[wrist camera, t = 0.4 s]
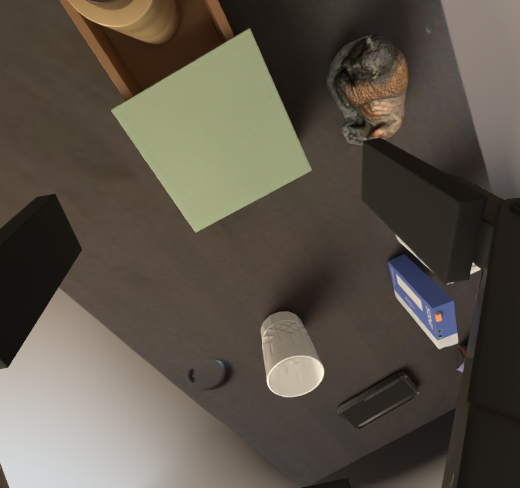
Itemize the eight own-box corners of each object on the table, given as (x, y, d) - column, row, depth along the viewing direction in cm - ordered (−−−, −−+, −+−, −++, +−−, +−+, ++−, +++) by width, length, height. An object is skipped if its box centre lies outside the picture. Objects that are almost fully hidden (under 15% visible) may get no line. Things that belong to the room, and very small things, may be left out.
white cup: (280, 299, 52) (295, 346, 43) (314, 322, 55) (335, 370, 47) (246, 332, 54) (255, 383, 45) (282, 352, 57) (296, 404, 49)
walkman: (387, 260, 52) (433, 310, 41) (404, 253, 52) (455, 302, 41) (395, 298, 55) (440, 353, 45) (411, 292, 55) (460, 345, 45)
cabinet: (129, 100, 37) (110, 110, 29) (240, 35, 36) (249, 27, 28) (197, 203, 43) (195, 232, 36) (292, 151, 42) (312, 170, 34)
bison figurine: (397, 122, 42) (448, 137, 33) (347, 154, 43) (384, 177, 34) (359, 24, 37) (409, 10, 28) (303, 63, 38) (334, 62, 29)
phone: (421, 394, 66) (355, 431, 69) (418, 389, 67) (353, 426, 70) (405, 373, 63) (337, 413, 65) (402, 368, 64) (335, 408, 66)
